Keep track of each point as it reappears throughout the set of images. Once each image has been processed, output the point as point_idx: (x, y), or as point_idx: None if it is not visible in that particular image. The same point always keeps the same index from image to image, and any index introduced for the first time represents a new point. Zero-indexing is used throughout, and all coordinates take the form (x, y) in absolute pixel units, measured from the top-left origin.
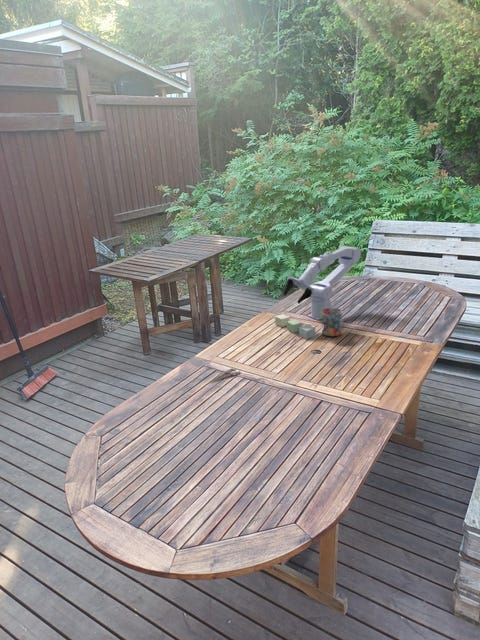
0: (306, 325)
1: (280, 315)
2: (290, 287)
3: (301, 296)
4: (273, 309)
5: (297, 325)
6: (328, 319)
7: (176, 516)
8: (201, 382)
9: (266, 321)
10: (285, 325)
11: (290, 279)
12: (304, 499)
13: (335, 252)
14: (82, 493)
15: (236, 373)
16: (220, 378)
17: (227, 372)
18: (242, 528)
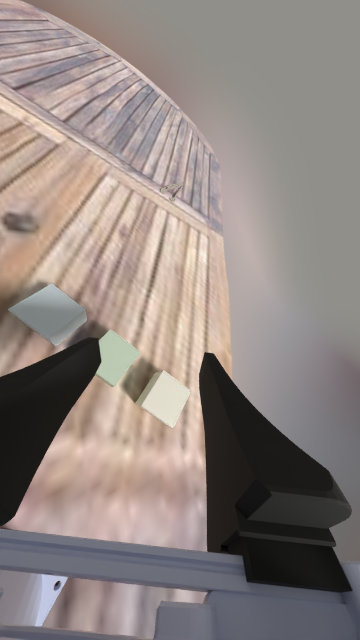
0: (54, 329)
1: (177, 407)
2: (213, 453)
3: (64, 359)
4: None
5: None
6: None
7: (131, 76)
8: (191, 187)
9: None
10: (146, 386)
11: (318, 495)
12: (40, 24)
13: None
14: (186, 117)
15: (164, 188)
16: (176, 184)
17: (175, 194)
18: (87, 44)
